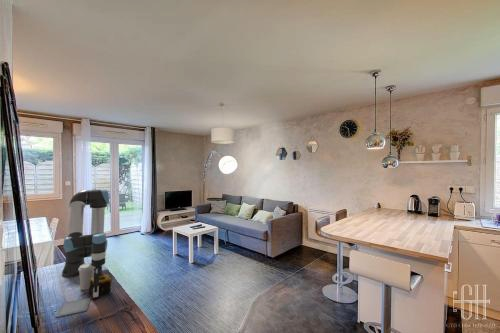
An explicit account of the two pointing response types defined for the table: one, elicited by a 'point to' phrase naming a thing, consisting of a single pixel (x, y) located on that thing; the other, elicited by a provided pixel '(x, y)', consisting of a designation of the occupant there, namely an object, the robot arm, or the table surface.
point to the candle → (101, 286)
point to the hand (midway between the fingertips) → (97, 291)
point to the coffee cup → (85, 275)
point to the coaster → (73, 307)
